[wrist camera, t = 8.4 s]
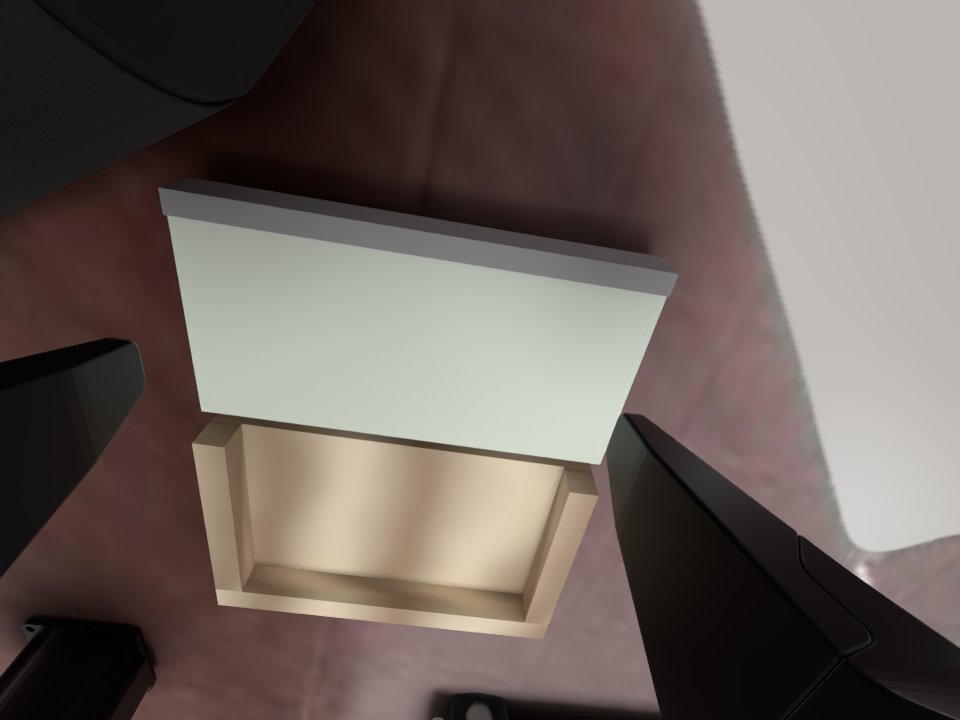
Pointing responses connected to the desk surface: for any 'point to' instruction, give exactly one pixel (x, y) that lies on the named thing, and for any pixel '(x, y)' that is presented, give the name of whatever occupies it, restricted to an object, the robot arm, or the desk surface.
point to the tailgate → (408, 321)
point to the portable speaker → (120, 78)
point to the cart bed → (388, 526)
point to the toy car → (477, 708)
